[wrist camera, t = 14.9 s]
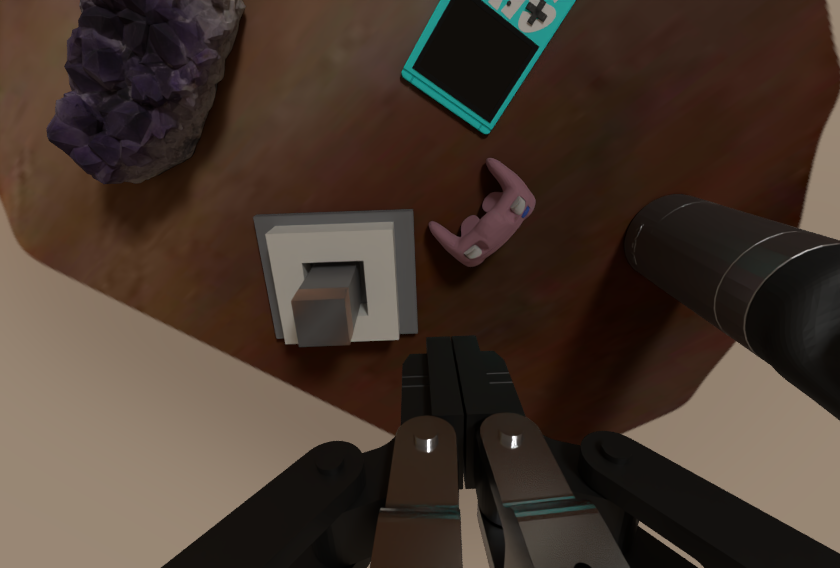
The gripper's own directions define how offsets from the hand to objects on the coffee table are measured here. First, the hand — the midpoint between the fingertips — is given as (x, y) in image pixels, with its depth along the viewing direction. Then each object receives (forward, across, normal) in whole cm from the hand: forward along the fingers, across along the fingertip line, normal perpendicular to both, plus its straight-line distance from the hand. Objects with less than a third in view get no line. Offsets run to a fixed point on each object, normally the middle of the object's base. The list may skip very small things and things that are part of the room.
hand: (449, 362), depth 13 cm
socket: (+31, +9, +9) cm, 34 cm away
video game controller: (+31, -6, +2) cm, 32 cm away
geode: (+31, +22, -11) cm, 40 cm away
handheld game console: (+32, -7, -14) cm, 35 cm away
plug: (+30, +9, +9) cm, 33 cm away
